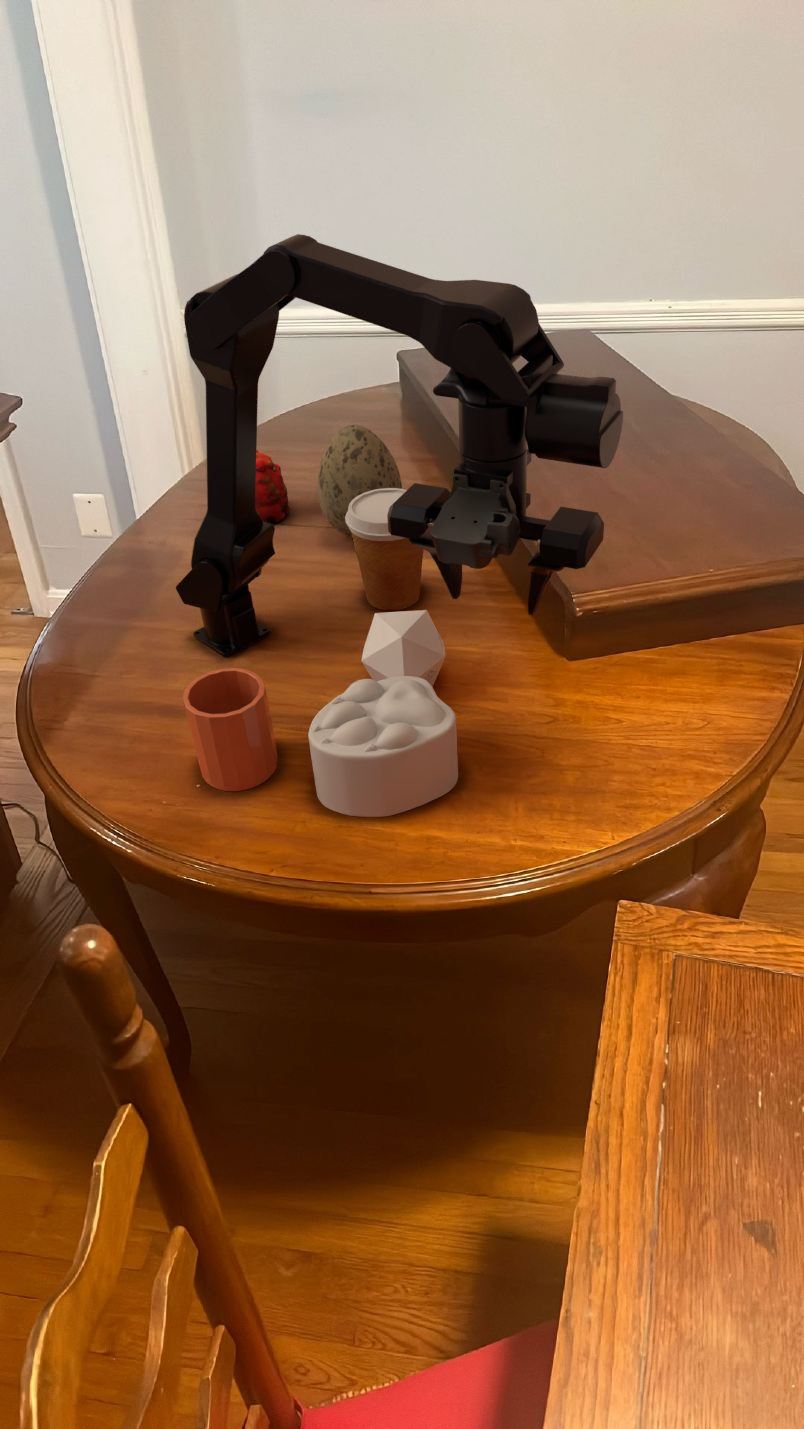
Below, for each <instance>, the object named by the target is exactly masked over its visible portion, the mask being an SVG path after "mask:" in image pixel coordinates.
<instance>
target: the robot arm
mask: <svg viewBox="0 0 804 1429" xmlns="http://www.w3.org/2000/svg"><path fill="white" fill-rule="evenodd" d="M296 299H299V300H301V301H304V302H308V303H310V304H314V305H316V306H319V307H322V308H324V309H328V310H332V311H334V312H337V313H340V314H343V315H346V316H349V317H351V318H354V319H357V320H361V321H363V322H366V323H369V324H371V325H375V326H378V327H380V328H383V329H386V330H390V331H392V332H395V333H398V334H401V335H404V336H407V337H409V338H411V339H413V340H414V341H416V342H418V343H419V344H421V345H422V347H423V348H424V349H425V350H426V351H427V352H428V353H429V354H430V355H431V357H432V358H433V359H434V360H435V361H438V362H439V363H441V364H443V365H445V366H446V367H448V368H449V371H448V373H447V374H446V375H445V377H444V378H442V380H441V381H440V382H439V383H437V384H436V385H435V386H434V387H433V389H432V392H433V394H434V395H435V396H437V397H444V398H450V399H457V406H458V408H457V409H458V410H457V411H458V441H459V442H458V444H459V446H458V447H459V450H458V451H459V464H458V465H457V466H456V467H455V468H453V475H452V487H451V489H450V490H449V488H447V487H441V486H436V485H430V484H423V483H417V482H416V483H415V482H413V484H411V485H410V487H409V488H408V489H406V490H407V491H406V492H405V493H404V494H402V495H401V496H400V497H399V498H398V499H397V500H396V501H395V502H394V503H393V504H392V505H391V506H390V508H389V511H388V515H387V519H388V531H389V533H390V534H391V535H394V536H399V537H405V538H409V541H410V543H411V544H412V545H415V546H419V547H421V548H423V551H426V552H427V553H428V554H430V557H432V560H433V561H434V562H435V565H436V566H437V569H438V571H439V573H440V574H441V577H442V579H443V581H444V583H445V585H446V588H447V590H448V592H449V594H450V596H451V599H452V600H458V599H459V598H460V596H461V595H462V594H461V593H462V585H463V566H466V567H469V568H470V569H474V570H481V569H484V568H486V567H487V566H489V564H490V563H491V562H492V560H493V559H497V558H498V556H500V555H504V556H511V555H512V554H513V552H514V550H515V548H516V546H517V543H518V541H519V539H523V540H528V541H533V542H536V543H537V544H536V545H537V546H536V547H537V551H536V552H535V553H534V555H533V556H532V557H531V559H530V560H529V561H528V563H527V566H528V568H529V570H530V579H529V588H528V598H527V612H528V615H529V616H533V615H535V613H536V612H537V609H538V608H539V605H540V603H541V600H542V598H543V596H544V593H545V591H546V589H547V587H548V585H549V583H550V582H549V581H550V579H551V577H552V576H553V574H554V573H555V572H557V573H558V572H561V571H562V570H564V568H567V569H573V570H579V569H583V568H586V567H587V565H588V563H589V562H590V560H591V559H592V557H593V556H594V554H595V553H596V551H597V550H598V548H599V547H600V545H601V544H602V542H603V541H604V534H605V533H604V532H605V521H604V520H603V518H602V517H601V515H600V514H599V512H597V511H592V510H586V509H579V508H572V507H566V506H559V508H558V509H557V511H556V512H555V513H554V515H553V516H552V517H551V519H545V518H538V517H533V516H527V509H528V508H529V507H530V506H531V503H532V502H531V500H532V498H531V497H532V495H531V494H532V493H529V492H527V482H528V481H527V478H528V477H527V476H528V465H529V464H530V463H531V462H532V457H533V456H532V455H535V457H537V458H538V459H542V460H549V461H555V462H561V463H568V464H574V465H582V466H587V467H594V468H595V467H596V468H600V469H607V468H608V467H609V466H610V465H611V464H612V462H613V460H614V458H615V456H616V452H617V449H618V447H619V443H620V439H621V433H622V430H623V422H624V410H622V403H621V399H620V396H619V394H618V393H616V389H617V380H616V378H615V377H608V376H593V377H586V376H577V375H568V374H561V373H560V371H562V370H563V368H564V367H565V363H564V361H563V360H562V358H561V356H560V355H559V353H558V351H557V350H556V347H555V346H554V345H553V343H552V342H551V340H550V338H549V337H548V336H547V334H546V332H545V330H544V329H543V327H542V326H541V324H540V322H539V316H538V312H537V308H536V307H535V304H534V303H533V301H532V297H531V294H529V293H528V292H527V291H526V290H525V289H524V288H521V287H520V286H518V285H516V284H512V283H507V282H498V281H490V280H481V279H461V280H442V279H441V280H439V279H433V278H430V277H426V276H424V275H420V274H417V273H414V272H411V271H407V270H406V269H402V268H399V267H396V266H392V265H389V264H387V263H383V262H380V261H376V260H374V259H371V258H369V257H368V258H367V257H365V256H361V255H358V254H355V253H352V252H349V251H346V250H343V249H340V248H336V247H334V246H330V245H327V244H324V243H321V242H318V240H316V239H315V238H313V237H312V236H310V235H306V234H300V233H298V234H295V235H291V236H289V237H287V238H285V239H283V240H281V241H279V242H277V243H274V244H272V245H270V246H268V247H267V248H266V249H265V251H264V252H263V254H262V255H260V256H259V257H257V259H256V260H254V261H253V262H252V263H251V264H250V265H249V266H247V267H246V268H244V269H243V270H242V271H241V272H239V273H236V274H233V275H232V276H229V277H228V278H225V279H223V280H222V281H219V282H217V283H215V284H212V285H211V286H208V287H206V288H204V289H202V290H200V291H198V292H196V293H195V294H194V295H193V296H192V297H191V298H190V299H189V300H187V302H186V304H185V306H184V311H183V320H184V327H185V334H186V339H187V340H186V341H187V346H188V351H189V352H188V353H189V356H190V358H191V360H192V361H193V363H194V364H195V366H196V368H197V369H198V372H199V373H200V375H201V376H202V377H203V379H204V384H205V430H206V431H205V444H206V446H205V448H206V449H205V450H206V451H205V452H206V454H205V455H206V513H205V515H204V517H203V519H202V522H201V524H200V526H199V528H198V529H197V533H196V535H195V537H194V540H193V546H192V552H191V559H190V566H191V570H190V571H189V572H188V573H187V574H186V575H185V576H184V577H183V578H182V579H181V580H180V582H178V584H177V585H176V586H175V591H176V592H177V594H178V596H179V598H180V599H181V601H182V603H183V604H184V605H187V606H191V607H194V608H199V610H200V614H201V620H202V623H203V626H202V627H201V628H199V629H197V630H195V631H194V632H193V633H192V634H193V638H195V639H196V640H197V641H199V642H201V643H202V644H204V645H205V646H207V647H208V648H210V649H211V650H213V651H214V652H215V653H217V654H219V655H220V656H222V657H229V656H231V655H233V654H236V653H237V652H240V651H241V650H242V649H245V648H247V647H248V646H250V645H252V644H254V643H256V642H258V641H259V640H261V639H263V638H265V637H267V636H268V635H270V633H271V632H270V628H268V627H266V626H265V625H264V624H262V623H260V622H258V621H257V615H256V610H255V607H254V602H253V597H252V592H251V591H250V586H249V584H251V583H252V582H253V581H254V580H255V579H257V578H259V577H260V576H261V575H262V571H263V570H262V569H263V568H264V567H265V566H266V565H267V564H268V562H269V561H270V559H271V558H272V557H273V556H275V554H276V551H275V548H274V536H275V535H274V534H275V531H276V528H275V525H274V524H273V523H271V522H270V523H265V522H264V521H263V520H262V518H261V517H260V515H259V514H258V512H257V511H256V509H255V486H256V450H257V447H258V446H257V444H258V442H257V441H258V438H257V437H258V406H259V405H258V402H259V400H258V399H259V398H258V397H259V380H260V377H261V375H262V372H263V370H264V368H265V366H266V364H267V362H268V359H269V357H270V355H271V352H272V351H273V348H274V344H275V339H276V334H277V329H278V325H279V324H278V323H279V321H280V320H279V319H280V311H281V310H283V309H284V308H285V307H286V306H288V305H289V304H290V303H291V302H293V301H294V300H296ZM520 357H522V358H523V360H525V361H526V362H527V363H526V364H524V365H523V367H521V368H520V369H519V370H517V369H516V368H515V366H514V365H513V364H514V362H516V361H517V360H518V359H519V358H520Z"/></svg>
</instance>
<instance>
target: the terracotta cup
mask: <svg viewBox="0 0 804 1429" xmlns="http://www.w3.org/2000/svg"><path fill="white" fill-rule="evenodd" d="M182 702H183V707H184V710H185V714H186V718H187V723H188V727H189V730H190V734H191V738H192V739H191V740H192V743H193V747H194V750H195V754H196V755H195V756H196V758H197V763H198V766H199V770H200V773H201V777H202V778H203V780H204V781H205V783H206V784H208V785H209V786H210V787H212V788H214V789H216V790H219V791H223V792H242V791H246V790H250V789H252V788H253V789H254V788H255V787H257V786H260V785H261V784H264V783H265V782H266V781H268V780H269V779H270V778H271V777H272V776H273V775H274V773H275V771H276V769H277V767H278V762H279V760H278V755H279V754H278V748H277V744H276V738H275V732H274V727H273V722H272V716H271V710H270V705H269V699H268V694H267V689H266V685H265V681H263V678H262V676H260V675H258V674H257V673H255V672H254V671H252V670H249V669H246V668H240V667H223V668H219V669H215V670H211V671H207V672H205V673H203V674H202V675H200V676H198V677H195V678H194V679H193V680H192V681H191V682H190V683H189V684H188V685H187V686H186V688H185V690H184V693H183V696H182Z"/></svg>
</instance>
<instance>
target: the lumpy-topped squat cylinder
mask: <svg viewBox="0 0 804 1429" xmlns="http://www.w3.org/2000/svg"><path fill="white" fill-rule="evenodd" d="M308 744H309V751H310V759H311V764H312V766H311V767H312V771H313V776H314V777H313V778H314V785H315V791H316V796H317V798H318V801H319V802H320V803H321V804H322V805H323V806H324V807H325V808H327V809H329V810H330V811H333V812H335V813H338V814H341V815H345V816H350V817H365V818H383V817H391V816H393V815H397V814H401V813H404V812H406V811H409V810H413V809H416V808H418V807H420V806H423V805H426V804H428V803H429V802H432V801H435V800H436V799H438V798H440V797H443V796H444V795H446V794H447V793H449V792H450V791H451V790H452V789H453V788H454V787H455V786H456V785H457V783H458V780H459V758H458V733H457V716H456V713H455V711H454V709H452V708H451V707H450V706H449V705H448V704H447V703H446V702H444V701H443V700H442V699H440V697H438V695H437V693H436V691H435V689H434V686H433V687H432V686H431V684H430V683H429V682H428V681H426V680H424V679H422V678H419V677H413V676H397V677H391V678H387V679H383V680H380V681H375V680H373V679H372V678H362V679H357V680H356V681H354V682H352V683H351V684H350V685H349V686H348V687H347V688H346V689H345V691H344V692H342V693H341V694H339V695H337V696H336V697H334V698H332V700H330V701H329V702H328V703H327V704H326V705H324V706H323V707H322V708H321V709H320V710H319V711H317V714H316V715H315V716H314V718H313V719H312V722H311V724H310V726H309V730H308Z"/></svg>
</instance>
